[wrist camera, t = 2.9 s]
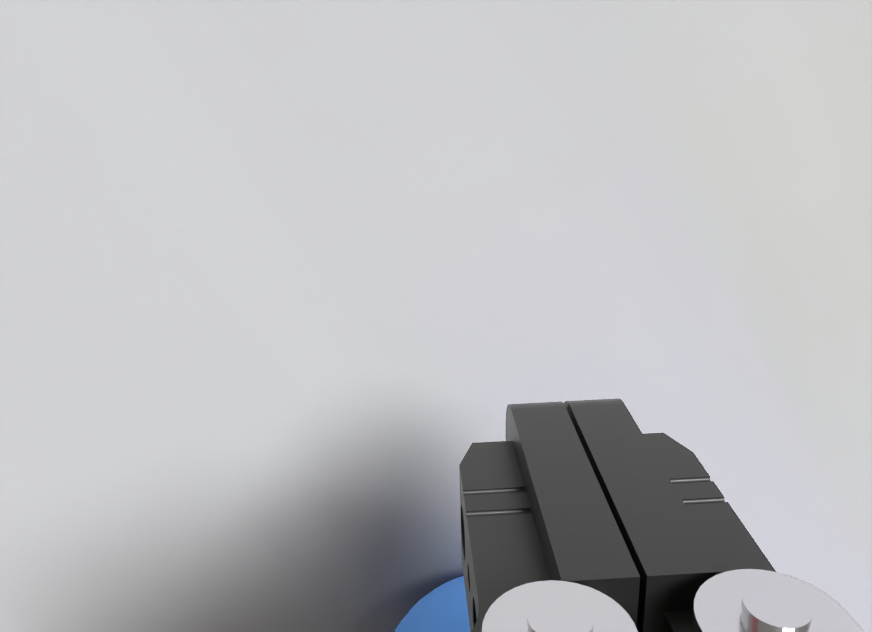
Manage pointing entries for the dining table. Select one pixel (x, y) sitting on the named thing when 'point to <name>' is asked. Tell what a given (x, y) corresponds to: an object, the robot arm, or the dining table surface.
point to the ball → (439, 610)
